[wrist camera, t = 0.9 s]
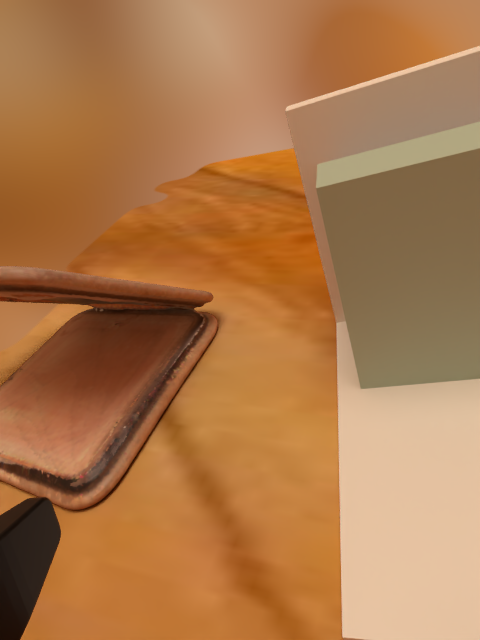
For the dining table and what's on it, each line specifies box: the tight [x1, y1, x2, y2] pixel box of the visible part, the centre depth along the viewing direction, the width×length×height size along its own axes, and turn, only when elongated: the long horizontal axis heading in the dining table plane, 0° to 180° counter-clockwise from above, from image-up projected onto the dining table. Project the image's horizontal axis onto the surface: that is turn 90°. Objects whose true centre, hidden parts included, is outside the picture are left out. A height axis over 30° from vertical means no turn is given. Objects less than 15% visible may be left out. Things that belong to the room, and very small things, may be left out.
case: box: [0, 266, 218, 510], centre depth 35 cm, size 20×21×16 cm
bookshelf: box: [285, 46, 480, 640], centre depth 19 cm, size 22×14×17 cm, turn 170°
